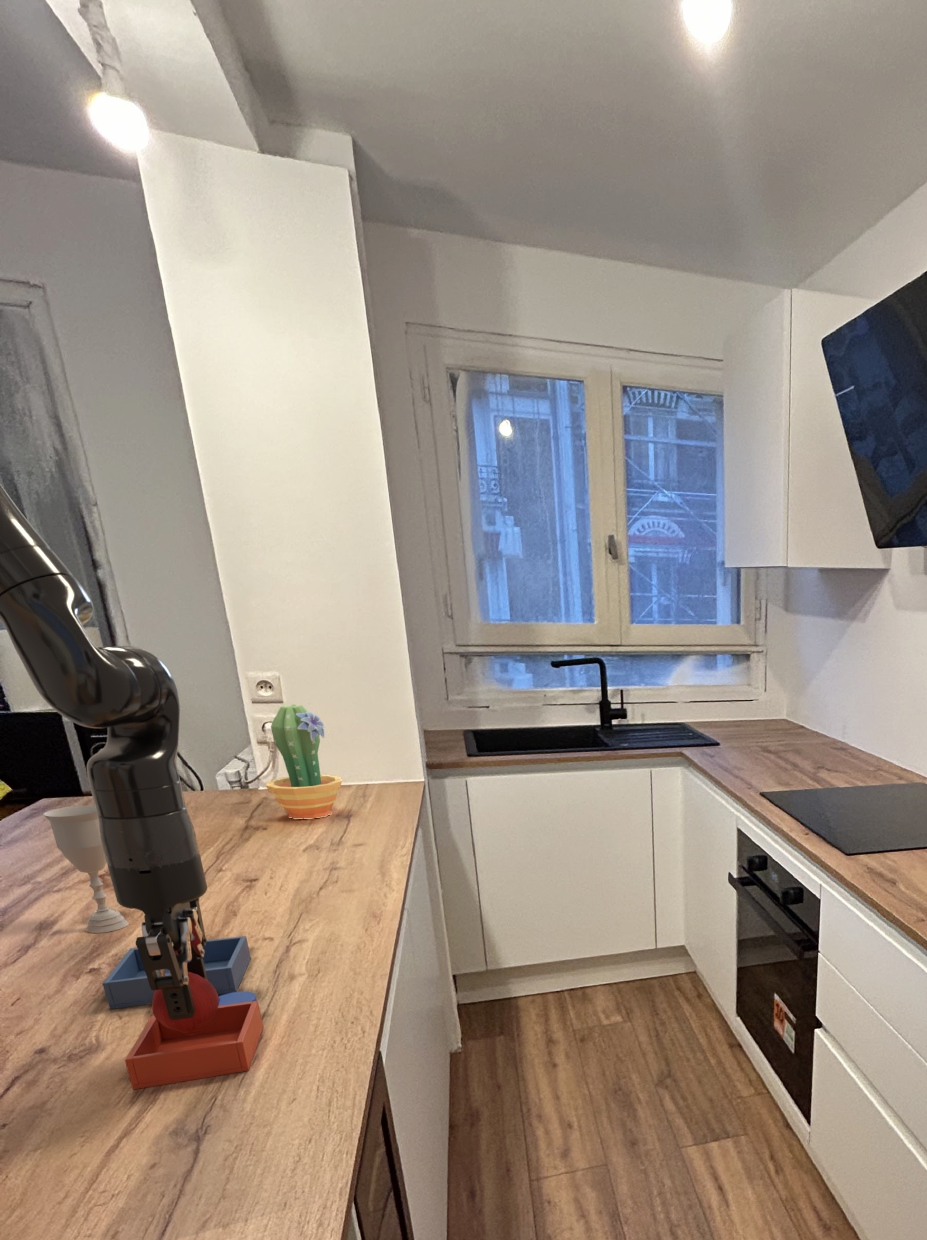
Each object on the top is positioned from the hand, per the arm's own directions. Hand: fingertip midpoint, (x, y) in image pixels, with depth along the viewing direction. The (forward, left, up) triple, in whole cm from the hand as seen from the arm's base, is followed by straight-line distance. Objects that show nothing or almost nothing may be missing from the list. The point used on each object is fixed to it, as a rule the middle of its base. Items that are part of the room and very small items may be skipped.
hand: (190, 1003), depth 87 cm
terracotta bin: (0, 0, -6) cm, 6 cm away
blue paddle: (-2, +11, -6) cm, 13 cm away
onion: (0, 0, -4) cm, 4 cm away
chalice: (-21, +48, -7) cm, 53 cm away
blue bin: (-6, +22, -6) cm, 24 cm away
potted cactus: (0, +114, -7) cm, 114 cm away
